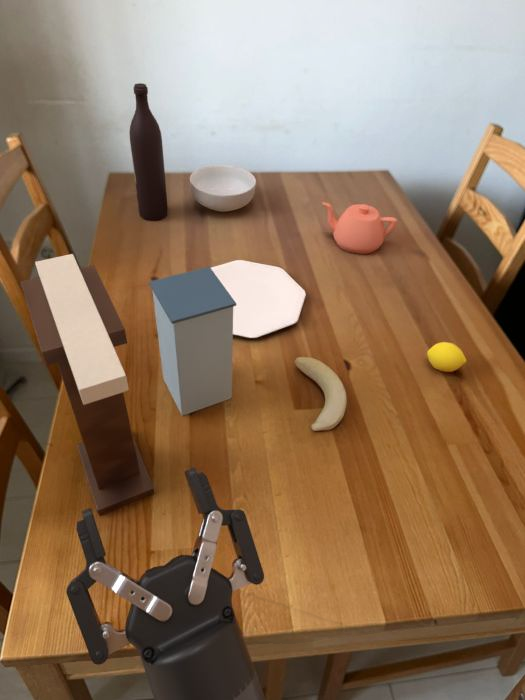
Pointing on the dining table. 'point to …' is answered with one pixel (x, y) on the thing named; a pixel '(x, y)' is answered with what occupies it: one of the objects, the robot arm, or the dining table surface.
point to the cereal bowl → (222, 187)
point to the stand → (95, 404)
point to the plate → (260, 297)
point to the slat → (81, 330)
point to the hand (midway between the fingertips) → (139, 489)
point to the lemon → (446, 357)
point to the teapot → (359, 228)
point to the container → (195, 337)
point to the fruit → (325, 392)
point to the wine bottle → (148, 159)
